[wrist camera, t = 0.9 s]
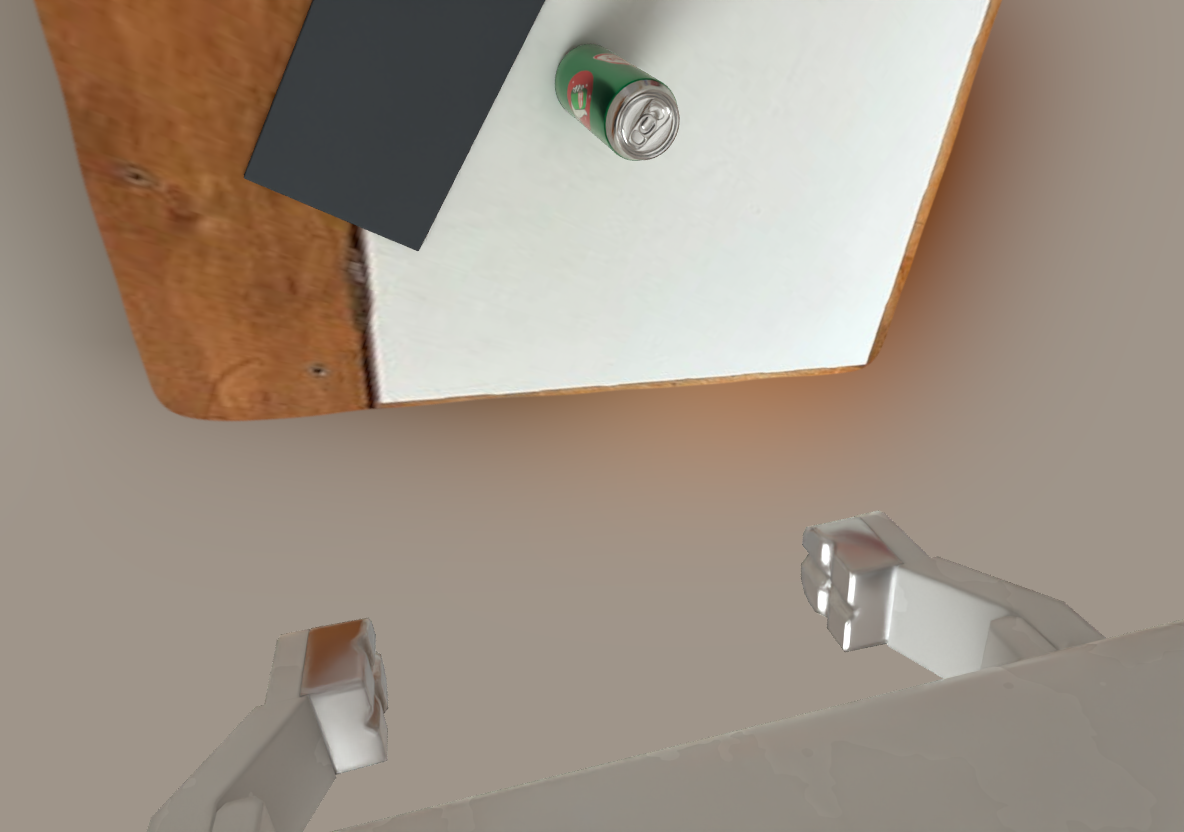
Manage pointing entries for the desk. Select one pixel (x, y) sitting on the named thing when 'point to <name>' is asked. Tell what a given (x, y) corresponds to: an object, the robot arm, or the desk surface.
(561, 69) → the soda can
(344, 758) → the robot arm
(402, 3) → the desk mat
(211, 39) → the desk surface
